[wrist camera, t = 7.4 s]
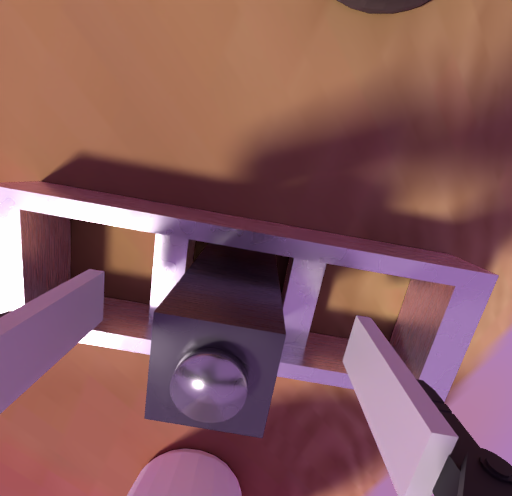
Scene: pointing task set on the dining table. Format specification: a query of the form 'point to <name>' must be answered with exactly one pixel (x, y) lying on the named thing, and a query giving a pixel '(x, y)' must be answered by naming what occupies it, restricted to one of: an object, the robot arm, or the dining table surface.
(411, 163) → the dining table surface
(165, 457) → the bottle
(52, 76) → the dining table surface
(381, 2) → the beer stein
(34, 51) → the dining table surface
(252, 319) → the square peg with dome
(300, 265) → the frame with square openings
